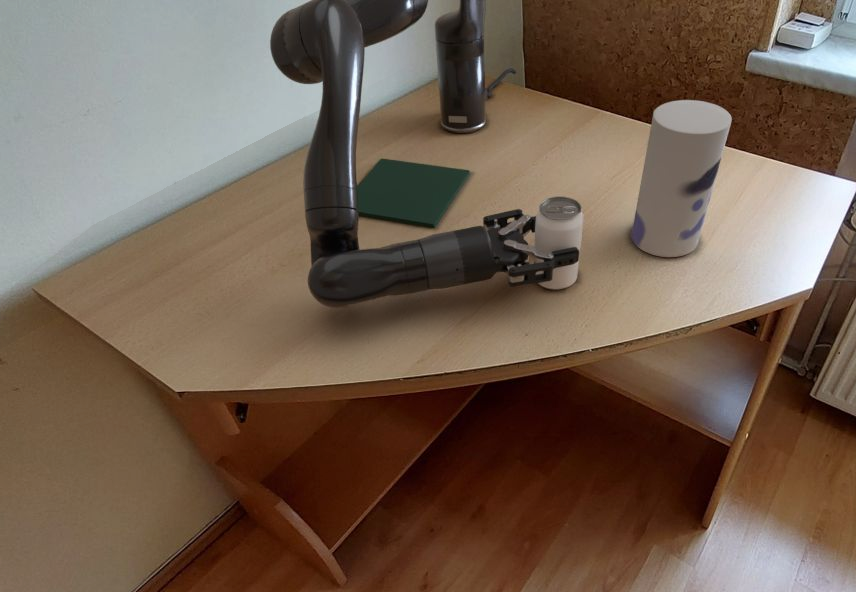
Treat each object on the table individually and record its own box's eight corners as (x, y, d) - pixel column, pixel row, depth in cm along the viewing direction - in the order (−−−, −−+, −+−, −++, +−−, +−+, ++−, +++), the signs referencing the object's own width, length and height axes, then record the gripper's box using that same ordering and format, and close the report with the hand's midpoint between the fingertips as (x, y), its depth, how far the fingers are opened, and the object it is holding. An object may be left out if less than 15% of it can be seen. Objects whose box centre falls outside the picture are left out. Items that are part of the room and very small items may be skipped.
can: (575, 293, 89) (583, 222, 80) (530, 289, 90) (533, 219, 81) (578, 265, 93) (585, 195, 85) (535, 262, 94) (538, 193, 86)
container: (686, 265, 92) (720, 138, 77) (621, 247, 96) (642, 123, 81) (705, 230, 97) (740, 106, 83) (643, 214, 101) (667, 93, 87)
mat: (381, 162, 119) (381, 158, 118) (469, 174, 114) (469, 170, 113) (338, 212, 107) (337, 208, 107) (434, 228, 102) (434, 224, 102)
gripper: (467, 267, 77) (589, 243, 79) (441, 207, 87) (550, 187, 89) (469, 312, 83) (583, 288, 85) (445, 251, 92) (548, 231, 94)
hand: (566, 236), depth 87 cm, fingers open, 8 cm apart
